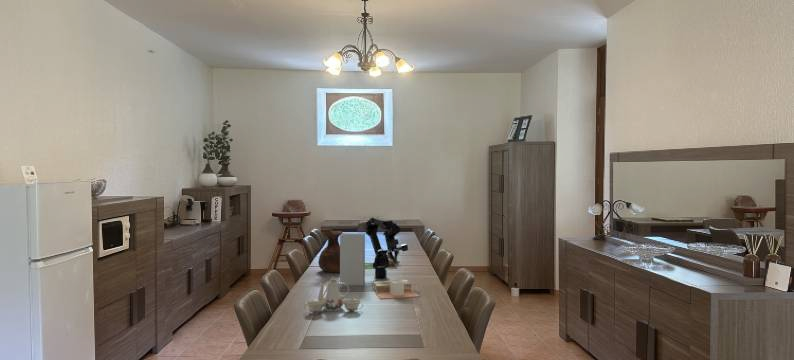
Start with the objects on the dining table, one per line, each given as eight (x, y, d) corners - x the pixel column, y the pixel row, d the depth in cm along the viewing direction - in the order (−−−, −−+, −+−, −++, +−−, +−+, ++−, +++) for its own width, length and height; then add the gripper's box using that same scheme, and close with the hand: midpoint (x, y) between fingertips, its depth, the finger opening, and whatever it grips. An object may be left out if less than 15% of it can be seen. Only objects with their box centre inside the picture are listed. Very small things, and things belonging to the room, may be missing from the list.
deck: (373, 288, 294) (373, 281, 293) (406, 286, 298) (406, 279, 298) (376, 292, 283) (377, 285, 283) (411, 290, 288) (411, 283, 288)
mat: (375, 293, 282) (375, 292, 282) (413, 291, 287) (413, 290, 287) (380, 299, 270) (380, 298, 270) (419, 296, 275) (419, 296, 275)
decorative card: (401, 253, 369) (403, 258, 349) (401, 264, 369) (403, 269, 349) (357, 253, 368) (356, 258, 348) (357, 264, 368) (356, 269, 348)
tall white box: (364, 282, 307) (365, 233, 306) (363, 285, 301) (363, 235, 300) (341, 282, 308) (342, 233, 307) (339, 284, 302) (340, 234, 302)
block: (389, 279, 283) (393, 283, 275) (400, 279, 284) (403, 282, 276) (389, 292, 283) (393, 295, 275) (400, 291, 284) (403, 295, 276)
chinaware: (306, 320, 237) (306, 286, 235) (302, 307, 253) (303, 275, 251) (364, 316, 244) (365, 283, 242) (357, 303, 260) (358, 272, 258)
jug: (314, 269, 346) (314, 225, 345) (343, 266, 355) (343, 224, 354) (323, 275, 326) (323, 229, 325) (354, 273, 335) (354, 228, 334)
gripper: (374, 238, 301) (379, 264, 294) (404, 232, 302) (410, 257, 295) (375, 244, 311) (380, 268, 305) (405, 237, 312) (410, 261, 306)
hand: (395, 263), depth 302 cm, fingers closed
